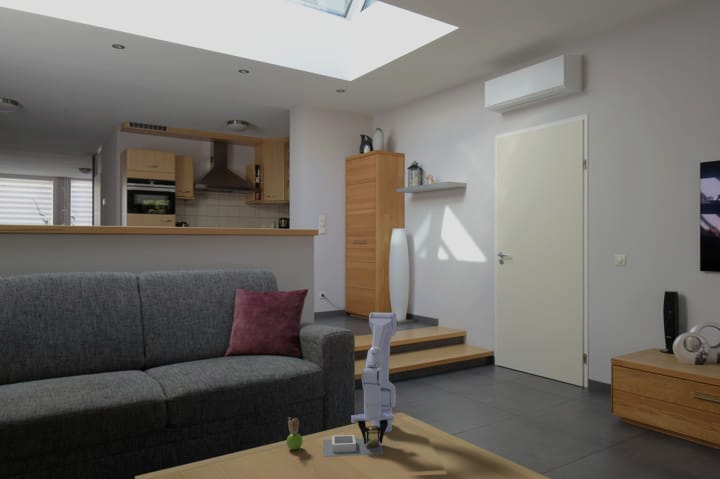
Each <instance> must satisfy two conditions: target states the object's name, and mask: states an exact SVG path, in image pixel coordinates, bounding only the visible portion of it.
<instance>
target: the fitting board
mask: <svg viewBox="0 0 720 479" xmlns="http://www.w3.org/2000/svg"><path fill="white" fill-rule="evenodd" d="M331 437H332V438H331V439H323V440H322V441H323V442H322V450H323V451H322V454H323V455H322V457H324V458H326V457H329V458H330V457H348V456H349V457H350V456H351V457H352V456H373V455H374V456H375V455H385V452H384V449H383V445H382V443H380V440H379V447H378V448H368V447H367V439H366V444H364V439H363V437H357V438H356V436H355V434H341V435H340V434H339V435H338V434H337V435H331Z"/></svg>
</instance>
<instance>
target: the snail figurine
mask: <svg viewBox="0 0 720 479" xmlns="http://www.w3.org/2000/svg"><path fill="white" fill-rule="evenodd" d="M291 419H292V420H291ZM287 420H288V421H287V423H288V430H289V435H288V436H287V438H286V445H287V447H288V448H289V449H290V450H293V451H295V450H298V449H300V448H301V447H302V445H303V442H304V441H303V436H302V435H301V434H300V433H298V431H299V427H300V421H299V419H298V418H297V417H294V418H292V417H287Z"/></svg>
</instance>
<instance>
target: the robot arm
mask: <svg viewBox="0 0 720 479" xmlns="http://www.w3.org/2000/svg"><path fill="white" fill-rule="evenodd" d="M368 317H369V318H368V325H369V328H370V330H371V332H372V341H371V342H372V343H371V347H370V349H368V350H367V355H366V360H365V361H366V362H365V367H364V368H362V372H361V383H362V390H363V412H364V413H360V414H353V415H350V416H351V417H350V418H351V419H350V420H351V422H350V423H352V424H354V423H357V425H358V428H359V429H360V430H359V431H360V432H361V436H362V438H363V439H364V444H366V427H367V426H366V425H367V424H366V422H368V423H369V422H372V425H374V426H379V427H380V432H379V440H380V443H381V444H383V439H384V435H385V433H390V432H392V430H393V422H394V421H395V415H394V413H393V412H392V411H393V408H395V407H396V403H397V393H396V392H397V391H396V386H395V385H394V384H393V383H392V382H391V381H390V380H389V378H390V360H391V359H390V356H391V341H392V337H393V336H395V335H396V334H397V324H398V323H397V322H398V319H397V318H398V317H397V314H396V313H395V312H374V311H371V312H370V313H369V316H368Z"/></svg>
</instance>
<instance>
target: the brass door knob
mask: <svg viewBox="0 0 720 479" xmlns="http://www.w3.org/2000/svg"><path fill="white" fill-rule="evenodd" d="M379 436H380V427H379V426H374V425H373V424H372V425H367V426H366V439H367V447H368V448H378V447H379Z"/></svg>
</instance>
